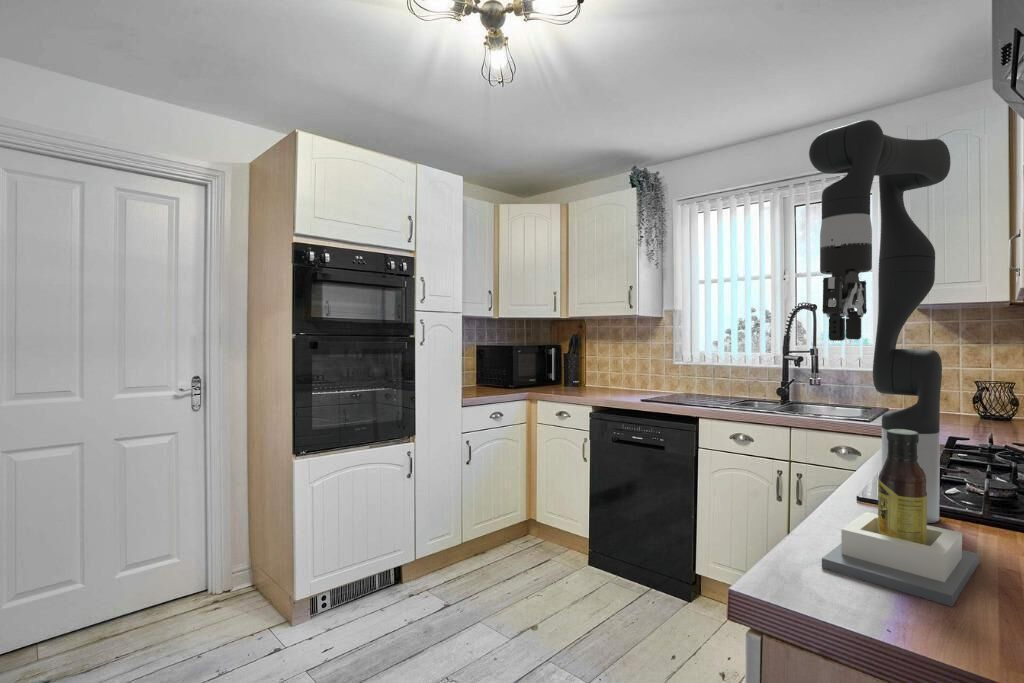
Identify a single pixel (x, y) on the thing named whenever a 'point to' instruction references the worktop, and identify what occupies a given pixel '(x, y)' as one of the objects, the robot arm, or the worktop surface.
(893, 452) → the sauce bottle
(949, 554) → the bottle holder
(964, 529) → the worktop surface
